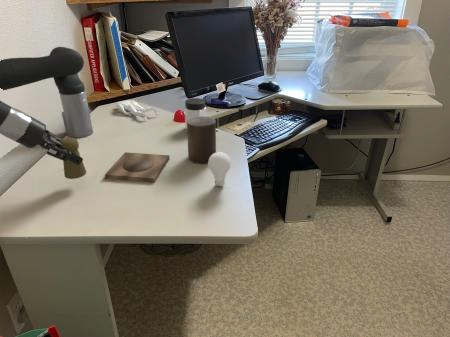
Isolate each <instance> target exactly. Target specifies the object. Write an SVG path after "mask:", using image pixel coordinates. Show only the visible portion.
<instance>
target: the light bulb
mask: <svg viewBox="0 0 450 337" xmlns="http://www.w3.org/2000/svg"><path fill="white" fill-rule="evenodd" d="M231 161H232V160H231V158H230V156H229V155H228V154H227V153H225V152H221V151H216V153H214V154H212V155H211V156H210V158H209V161H208V163H207V166H208V169H209V170H210V172H211V173H212V175H213V179H214V185H215V186H216V187H223V186H224V185H225V182H226V181H225V179H226V176H227V173H228V172H229V171H230V169H231V165H232V162H231Z"/></svg>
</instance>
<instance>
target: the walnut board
mask: <svg viewBox="0 0 450 337" xmlns="http://www.w3.org/2000/svg"><path fill="white" fill-rule="evenodd" d="M169 161H170V155H168V154H156V153H140V152H129V151H128V152H124V153H123V154H122V155H121V156H120V157H119V158H118V159H117V160H116V162H115V163H114V164H113V165H112V166H111V167H110V168H109V169H108V170H107V171H106V173H105V174H104V178H105V179H106V180H116V181H117V180H119V181H120V180H121V181H130V182H141V183H142V182H143V183H156V182H157V180H158V178H159V177H160V175H161V173H162V172H163V170H164V168H166V165H168V163H169Z"/></svg>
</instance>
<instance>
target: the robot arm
mask: <svg viewBox="0 0 450 337" xmlns="http://www.w3.org/2000/svg"><path fill="white" fill-rule="evenodd" d="M0 60H1V61H0V88H1V89H3V91H7V90H11V89H15V88H20V87H23V86H27V85H30V84H34V83H37V82H41V81H45V80H47V79H52V78H53V81H54V84H55V86H56V88H57V90H58V93H59V97H60V101H61V107H62V109H63V111H61V117H62V121H63V125H64V129H65V133H66V136H69V137H70V138H75V139H76V138H84V137H88V136H90V135H92V134H93V133H94V127H93V124H92V119H91V114H90V113H91V112H90V108H89V104H88V103H89V102H88V98H87V93H86V88H85V84H84V82H83V81H82V79H81V78H80V77H79V75H78V74H79V73H80V72H81V71H82V70H83V68H84V65H85V61H84V58H83V56H82V54H81V53H79V52H78V51H77V50H75V49H72V48H69V47H65V46H56V47H54V48H52V49H51V51H50V53H49V55H44V56H39V57H38V56H37V57H10V58H4V59H3V60H2V59H0ZM0 134H1V135H2V136H3V137H6V138H7V139H10V140H11V141H13V142H16V143H18V144H19V145H21V146H24V147H25V148H28V149H33V148H36V146H39V147H41V149H42V150H43V151H45V152H46V154H47V155H48V156H51V157H53V158H55V159H57V160H61V161H65V162H66V161H67V159H68V160H70V161H71V162H73V163H75V164H77V165H80V164H81V162H83V161H84V159H83V157H80V156H81V155H80V156H78V155H76V154H74V153H72V152H71V151H69V150H67V149H65V146H64V145H63V144H61V143H60V141H61V140H62V138H60V137H59V136H57V135H55V134H54V133H53V132H51V131H50V130H48V129H47V126H46V124H45V123H43V122H42V121H40V120H38V119H36V118H35V117H32V115H31V116H30V115H29V114H28V113H25V112H24V111H22V110H20V109H18V108H15V107H12V106H11V105H9V104H7V103H5V102H4V101H1V100H0ZM59 147H61V148H59ZM63 154H65V155H63Z"/></svg>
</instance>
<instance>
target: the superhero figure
mask: <svg viewBox="0 0 450 337" xmlns="http://www.w3.org/2000/svg"><path fill="white" fill-rule="evenodd" d="M115 107H116V108H117V109H118V110H117V111H118V112H119V113H123V114H124V115H127V116H129V117H131V115H134V116H136V117H143V119H144V121H145V122H148V117H147V113H148V112H152V111H153V112H154V114H155V115H156V116H159V111H158V110H157V108H156V107H150V106H148V107H143V106H142V105H140V103H138V102H137V101H135V100H132V99H131V100H123V101H120V102H118V101H117V102H116V103H115ZM127 111H128V112H127Z"/></svg>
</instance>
